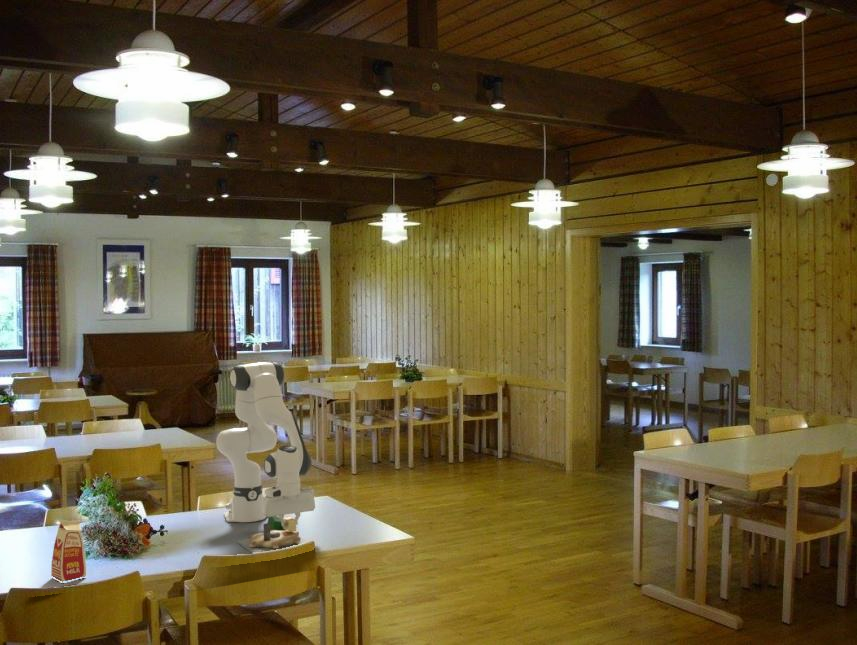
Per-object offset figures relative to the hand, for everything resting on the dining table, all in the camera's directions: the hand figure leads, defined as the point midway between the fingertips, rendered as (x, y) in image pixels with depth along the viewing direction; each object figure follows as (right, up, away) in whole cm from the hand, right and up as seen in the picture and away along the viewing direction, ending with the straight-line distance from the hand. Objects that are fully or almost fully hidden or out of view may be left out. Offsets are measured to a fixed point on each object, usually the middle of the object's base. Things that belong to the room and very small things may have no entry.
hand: (289, 525), depth 324 cm
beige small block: (0, -2, 0) cm, 2 cm away
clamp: (-7, -7, +16) cm, 19 cm away
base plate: (-5, -7, -3) cm, 9 cm away
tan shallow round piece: (-5, -5, -3) cm, 8 cm away
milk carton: (-67, -8, -40) cm, 78 cm away
